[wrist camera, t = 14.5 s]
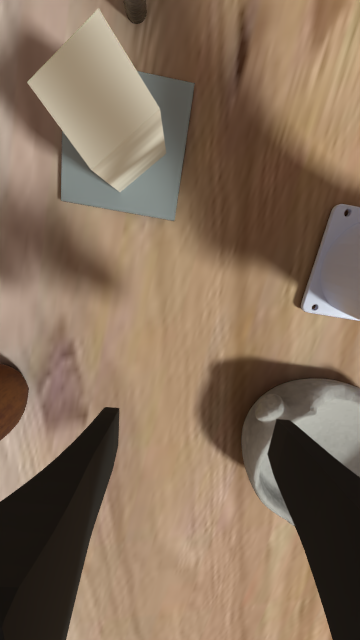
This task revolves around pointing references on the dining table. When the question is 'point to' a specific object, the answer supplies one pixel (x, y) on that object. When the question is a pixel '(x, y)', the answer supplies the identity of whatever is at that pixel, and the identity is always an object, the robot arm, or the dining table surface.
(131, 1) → the bent rod
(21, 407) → the wooden figurine
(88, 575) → the dining table surface
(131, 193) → the mat
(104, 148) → the ash block
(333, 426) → the dish
